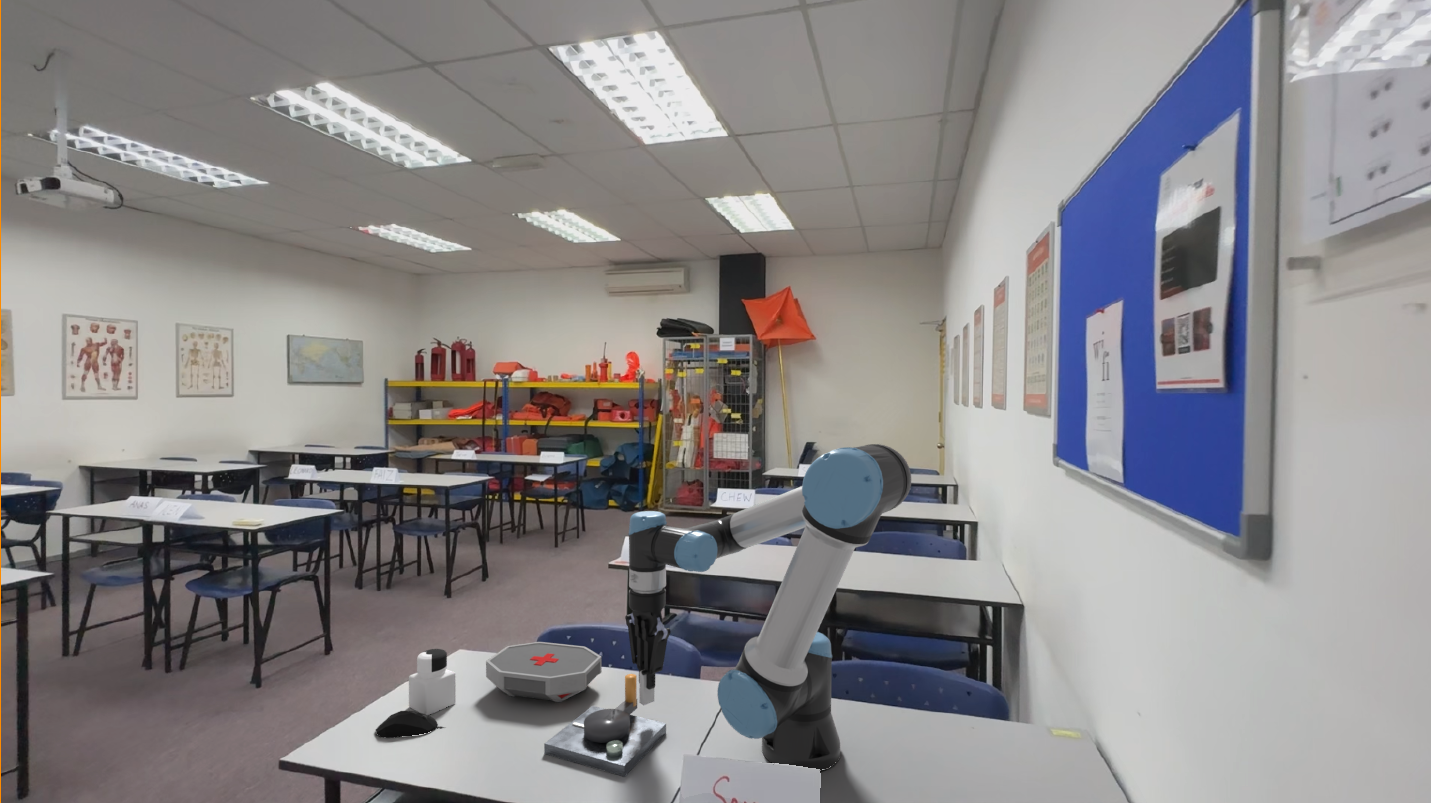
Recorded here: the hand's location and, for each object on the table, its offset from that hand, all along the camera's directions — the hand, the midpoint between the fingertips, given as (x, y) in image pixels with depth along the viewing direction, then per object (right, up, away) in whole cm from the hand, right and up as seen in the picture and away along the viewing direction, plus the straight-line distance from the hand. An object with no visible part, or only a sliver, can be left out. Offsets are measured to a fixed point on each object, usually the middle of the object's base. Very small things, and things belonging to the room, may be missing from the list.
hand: (646, 701), depth 129 cm
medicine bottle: (-49, -6, +11) cm, 50 cm away
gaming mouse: (-48, -7, +1) cm, 49 cm away
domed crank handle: (-6, -3, -2) cm, 7 cm away
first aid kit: (-26, -6, +18) cm, 32 cm away
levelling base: (-7, -6, -4) cm, 11 cm away
